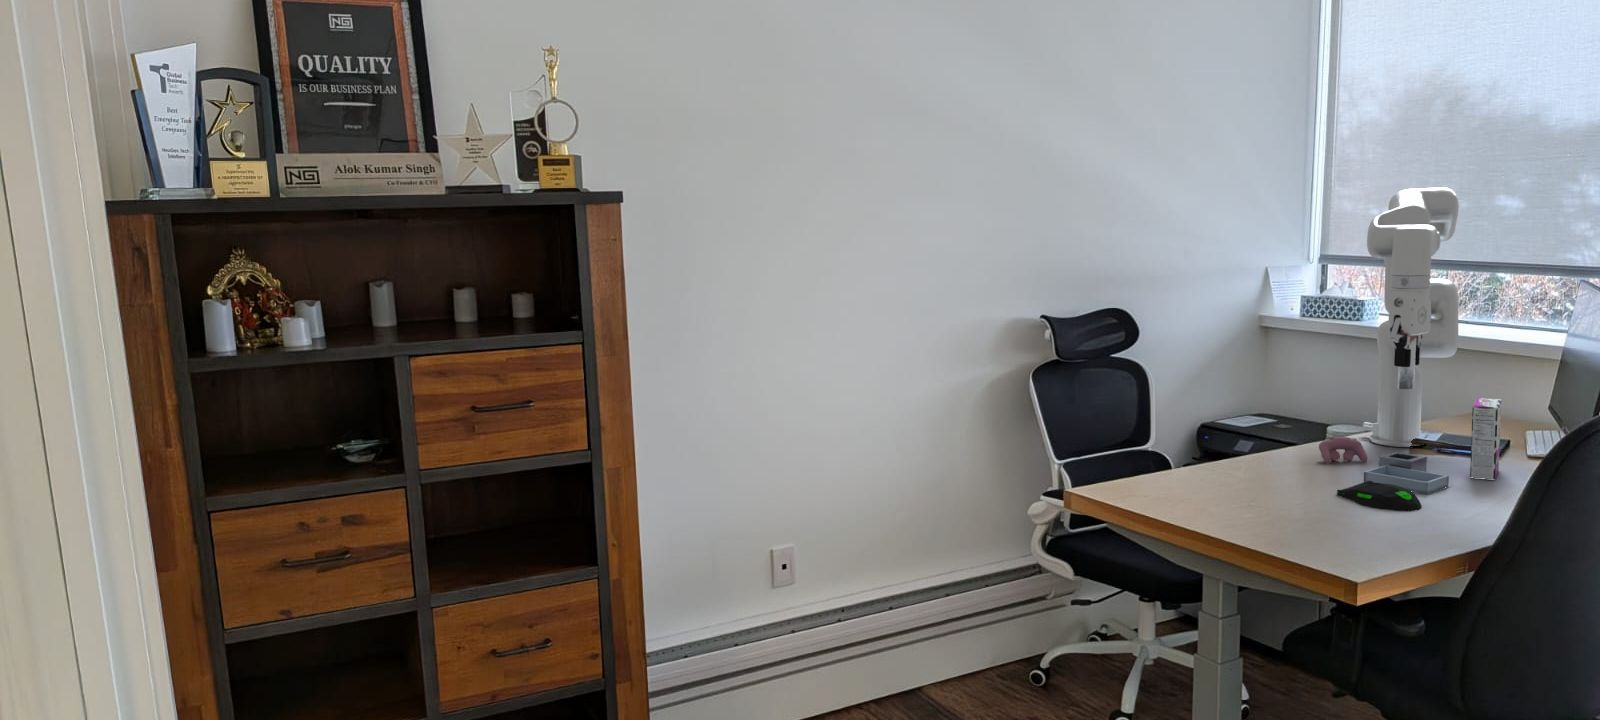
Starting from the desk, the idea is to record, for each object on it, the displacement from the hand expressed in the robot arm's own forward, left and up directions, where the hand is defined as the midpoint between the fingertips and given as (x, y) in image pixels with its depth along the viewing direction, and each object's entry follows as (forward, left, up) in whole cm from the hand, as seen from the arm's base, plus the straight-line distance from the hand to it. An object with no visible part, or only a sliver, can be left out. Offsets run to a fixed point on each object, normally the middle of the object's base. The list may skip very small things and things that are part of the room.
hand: (1406, 364), depth 229 cm
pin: (0, 0, -5) cm, 5 cm away
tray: (+5, -9, -25) cm, 27 cm away
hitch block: (0, 0, -25) cm, 25 cm away
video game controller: (-15, +2, -25) cm, 29 cm away
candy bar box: (+12, +12, -25) cm, 30 cm away
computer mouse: (+8, -26, -26) cm, 37 cm away
